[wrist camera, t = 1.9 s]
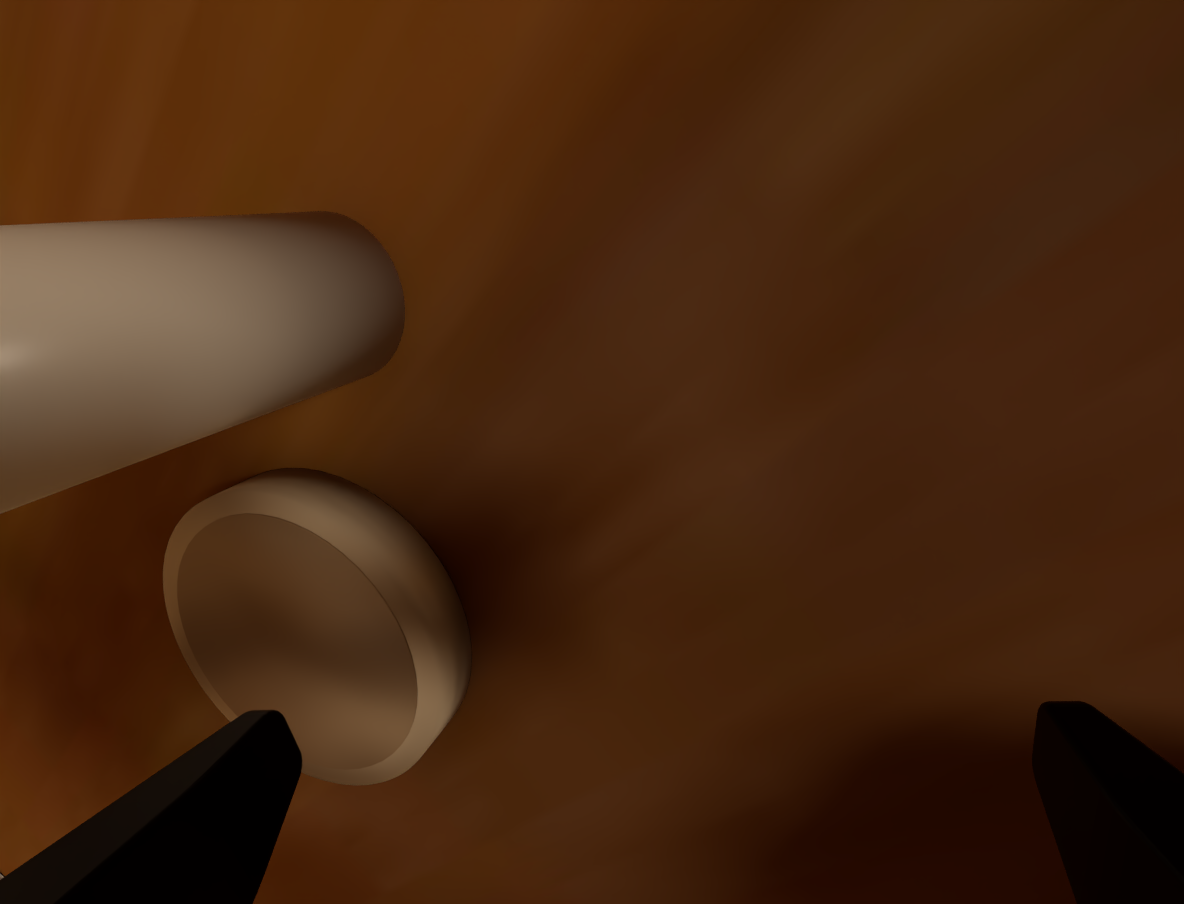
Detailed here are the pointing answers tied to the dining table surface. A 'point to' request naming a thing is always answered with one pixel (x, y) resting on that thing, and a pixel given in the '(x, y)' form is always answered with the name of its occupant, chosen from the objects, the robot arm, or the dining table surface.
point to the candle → (176, 333)
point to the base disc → (320, 620)
